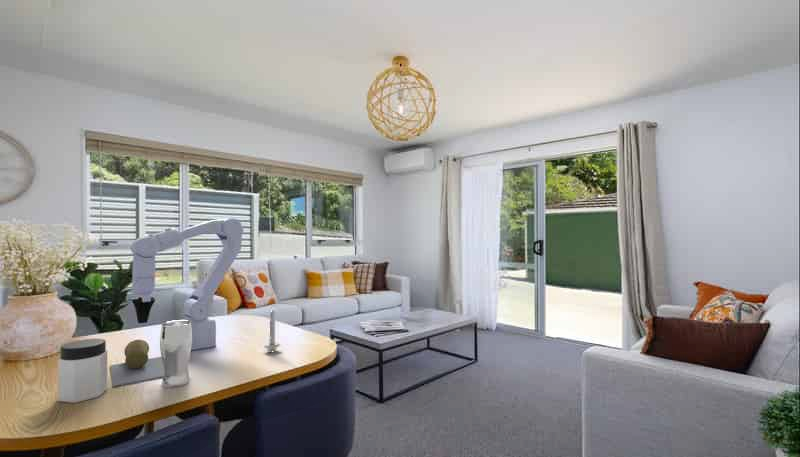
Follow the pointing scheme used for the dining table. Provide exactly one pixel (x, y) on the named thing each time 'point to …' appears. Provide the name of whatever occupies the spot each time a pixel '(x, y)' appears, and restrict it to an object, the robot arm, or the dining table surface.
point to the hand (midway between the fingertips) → (142, 322)
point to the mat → (136, 372)
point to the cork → (136, 354)
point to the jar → (82, 370)
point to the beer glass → (175, 352)
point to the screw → (272, 335)
